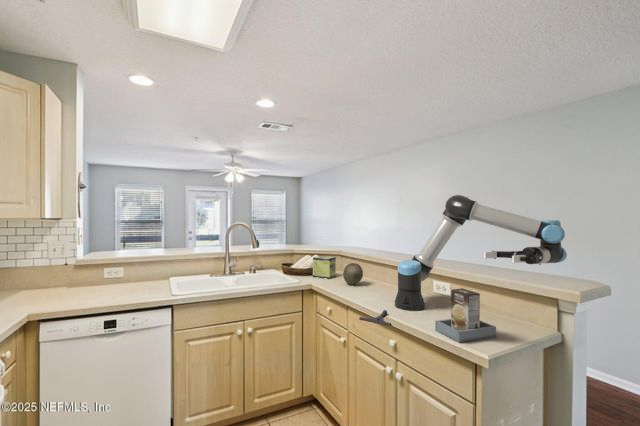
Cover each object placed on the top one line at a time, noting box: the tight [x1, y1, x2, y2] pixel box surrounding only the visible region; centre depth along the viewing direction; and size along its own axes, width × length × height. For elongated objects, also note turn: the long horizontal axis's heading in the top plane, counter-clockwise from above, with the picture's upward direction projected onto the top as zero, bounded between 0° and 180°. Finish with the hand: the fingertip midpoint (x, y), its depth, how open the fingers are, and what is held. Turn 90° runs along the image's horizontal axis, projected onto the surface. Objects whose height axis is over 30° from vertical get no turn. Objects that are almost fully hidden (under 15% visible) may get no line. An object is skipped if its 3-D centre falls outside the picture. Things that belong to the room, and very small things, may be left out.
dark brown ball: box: [342, 262, 364, 286], centre depth 209 cm, size 14×14×15 cm
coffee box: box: [450, 287, 481, 331], centre depth 121 cm, size 9×6×16 cm
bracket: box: [358, 309, 392, 327], centre depth 139 cm, size 14×15×3 cm
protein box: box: [312, 256, 337, 280], centre depth 237 cm, size 10×16×16 cm
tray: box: [434, 318, 497, 344], centre depth 121 cm, size 13×18×4 cm
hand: (498, 257), depth 127 cm, fingers open, 13 cm apart
